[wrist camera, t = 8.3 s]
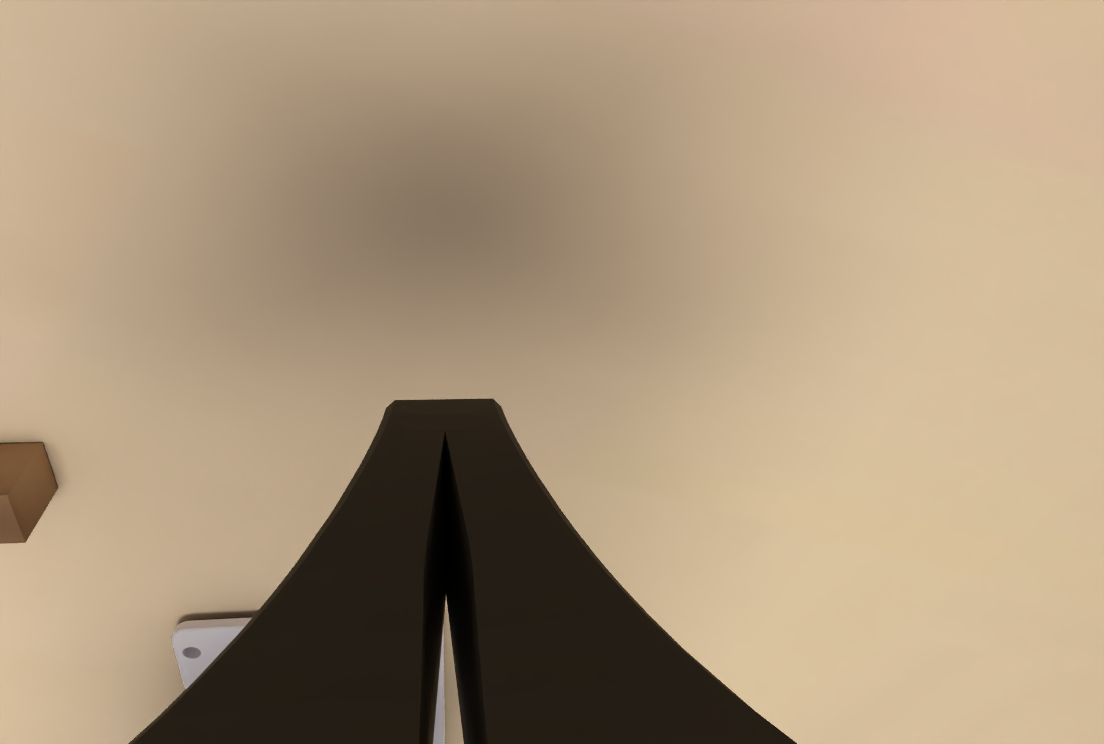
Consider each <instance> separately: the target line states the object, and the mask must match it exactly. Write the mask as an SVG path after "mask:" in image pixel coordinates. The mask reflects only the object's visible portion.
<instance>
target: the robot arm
mask: <svg viewBox="0 0 1104 744" xmlns="http://www.w3.org/2000/svg"><path fill="white" fill-rule="evenodd" d="M446 596H447V605H448V613H449V622H450V630H451V639H452V647H453V655H454V664H455V672H456V680H457V689H458V697H459V705H460V714H461V722H462V730H463V738H464V744H797V743H796V742H794V741H793V740H792V739H790V738H789V737H788V736H787V735H785V734H784V733H783V732H781V731H780V730H779V729H777V728H776V727H775V726H774V725H772V724H771V723H770V722H768V721H767V720H766V719H764V718H763V717H762V716H761V715H759V714H758V713H757V712H755V711H754V710H753V709H752V708H751V707H750V706H748V705H747V704H746V703H745V702H744V701H743V700H741V699H740V698H739V697H738V696H737V695H736V694H735V693H733V692H732V691H731V690H730V689H729V688H728V687H727V686H725V685H724V684H723V683H722V682H721V681H720V680H718V679H717V678H716V677H715V676H714V675H713V674H712V673H710V672H709V671H708V670H707V669H706V668H705V667H704V666H702V665H701V664H700V663H699V662H698V661H697V660H695V659H694V658H693V657H692V656H691V655H690V654H689V653H687V652H686V651H685V650H684V649H683V648H682V647H681V646H680V645H679V644H678V643H677V642H676V641H675V640H674V639H673V638H672V637H671V636H670V635H669V634H668V633H667V632H666V631H665V630H664V629H663V628H662V627H661V626H660V625H659V624H658V623H657V622H656V621H654V620H653V619H652V618H651V617H650V616H649V615H648V614H647V613H646V611H645V610H644V609H643V608H642V607H641V606H640V605H639V604H638V603H637V602H636V601H635V600H634V599H633V598H632V596H631V595H630V594H629V593H628V592H627V591H626V590H625V589H624V588H623V587H622V586H621V585H620V583H619V582H618V581H617V580H616V579H615V578H614V577H613V575H612V574H611V573H610V572H609V571H608V570H607V569H606V567H605V566H604V565H603V564H602V563H601V561H600V560H599V559H598V558H597V557H596V555H595V554H594V553H593V552H592V550H591V549H590V548H589V546H588V545H587V544H586V543H585V541H584V540H583V539H582V538H581V536H580V535H579V534H578V532H577V531H576V530H575V529H574V527H573V526H572V525H571V523H570V522H569V520H568V519H567V518H566V516H565V515H564V514H563V512H562V511H561V509H560V508H559V507H558V505H557V504H556V502H555V501H554V499H553V498H552V496H551V495H550V493H549V492H548V490H547V489H546V487H545V486H544V484H543V483H542V481H541V480H540V478H539V477H538V475H537V474H536V472H535V470H534V469H533V467H532V466H531V464H530V462H529V461H528V459H527V457H526V456H525V454H524V452H523V450H522V449H521V447H520V445H519V443H518V442H517V440H516V438H515V436H514V434H513V432H512V430H511V428H510V426H509V424H508V422H507V420H506V417H505V415H504V413H503V410H502V408H501V406H500V405H499V404H498V403H497V402H496V401H495V400H494V399H444V400H395V401H394V402H393V403H391V404H390V405H389V406H388V407H387V408H386V410H385V413H384V416H383V419H382V421H381V424H380V426H379V429H378V431H377V433H376V435H375V437H374V439H373V442H372V444H371V446H370V448H369V449H368V451H367V453H366V455H365V457H364V459H363V461H362V463H361V465H360V466H359V468H358V470H357V472H356V473H355V475H354V477H353V478H352V480H351V482H350V483H349V485H348V487H347V488H346V490H345V492H344V493H343V495H342V497H341V498H340V500H339V502H338V503H337V505H336V507H335V508H334V510H333V511H332V513H331V514H330V516H329V517H328V519H327V520H326V522H325V523H324V524H323V526H322V527H321V529H320V530H319V532H318V533H317V534H316V536H315V537H314V539H313V540H312V542H311V543H310V544H309V546H308V547H307V549H306V550H305V552H304V553H303V554H302V556H301V557H300V559H299V560H298V562H297V563H296V564H295V566H294V567H293V568H292V569H291V571H290V572H289V573H288V575H287V576H286V577H285V579H284V580H283V581H282V582H281V584H280V585H279V586H278V587H277V589H276V590H275V591H274V592H273V594H272V595H271V596H270V597H269V599H268V600H267V601H266V602H265V603H264V605H263V606H262V607H261V608H260V609H259V610H258V612H257V613H256V614H255V615H254V616H253V617H251V618H232V619H212V620H193V621H185V622H182V623H180V624H178V625H177V626H176V627H175V629H174V632H173V635H172V645H173V648H174V652H175V656H176V659H177V663H178V666H179V670H180V674H181V677H182V681H183V684H184V688H185V691H184V692H183V693H182V694H181V695H180V696H179V697H178V698H177V699H176V700H175V701H174V702H173V703H172V704H171V705H170V706H169V707H168V708H167V709H166V710H165V711H164V712H163V713H162V714H161V715H160V716H158V717H157V718H156V719H155V720H154V721H153V722H152V723H151V724H150V725H149V726H147V727H146V728H145V729H144V730H143V731H142V732H141V733H140V734H139V735H138V736H137V737H135V738H134V739H133V740H132V741H131V742H130V743H129V744H445V714H444V611H445V600H446ZM193 647H195V648H193Z"/></svg>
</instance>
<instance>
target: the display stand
mask: <svg viewBox="0 0 1104 744" xmlns="http://www.w3.org/2000/svg"><path fill="white" fill-rule="evenodd" d="M57 489H58V487H57V484H56V481H55V478H54V475H53V472H52V470H51V467H50V464H49V461H48V458H47V455H46V452H45V449H44V446H43V443H9V444H0V544H1V543H25V542H26V541H27V539H28V537H29V536H30V534H31V532H32V531H33V529H34V527H35V526H36V524H37V522H38V521H39V519H40V517H41V516H42V514H43V512H44V511H45V509H46V507H47V506H48V504H49V502H50V501H51V499H52V497H53V496H54V494H55V493H56V491H57Z"/></svg>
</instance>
